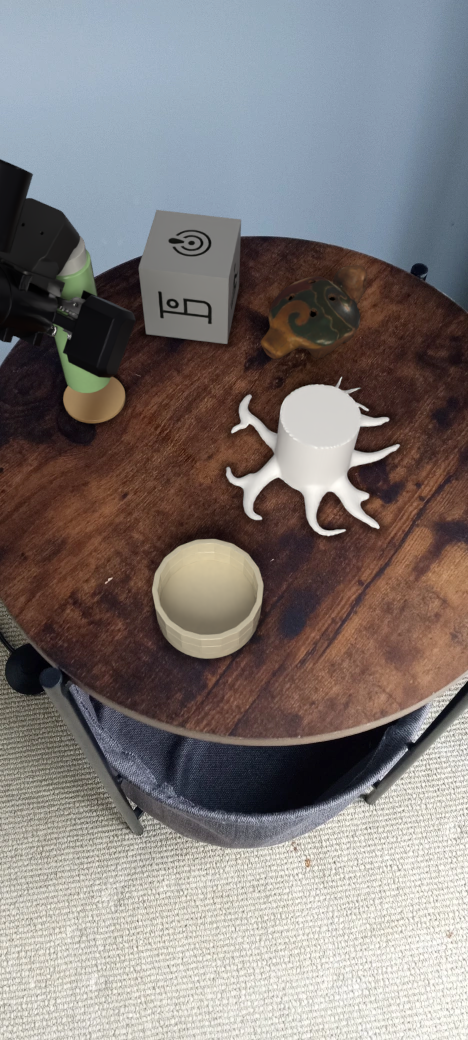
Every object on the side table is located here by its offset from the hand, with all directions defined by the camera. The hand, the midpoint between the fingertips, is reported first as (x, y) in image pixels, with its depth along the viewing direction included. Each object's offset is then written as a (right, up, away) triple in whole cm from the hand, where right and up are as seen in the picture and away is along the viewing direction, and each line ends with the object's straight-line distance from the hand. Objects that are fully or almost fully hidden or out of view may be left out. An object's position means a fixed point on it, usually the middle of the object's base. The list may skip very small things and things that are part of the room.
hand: (85, 316), depth 73 cm
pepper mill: (-1, -5, +6) cm, 8 cm away
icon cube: (+10, +5, +17) cm, 21 cm away
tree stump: (+23, -14, +6) cm, 28 cm away
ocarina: (+25, +1, +15) cm, 29 cm away
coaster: (-1, -7, +10) cm, 12 cm away
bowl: (+13, -29, -3) cm, 32 cm away
